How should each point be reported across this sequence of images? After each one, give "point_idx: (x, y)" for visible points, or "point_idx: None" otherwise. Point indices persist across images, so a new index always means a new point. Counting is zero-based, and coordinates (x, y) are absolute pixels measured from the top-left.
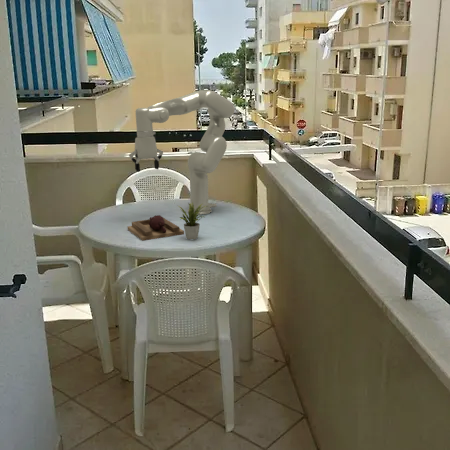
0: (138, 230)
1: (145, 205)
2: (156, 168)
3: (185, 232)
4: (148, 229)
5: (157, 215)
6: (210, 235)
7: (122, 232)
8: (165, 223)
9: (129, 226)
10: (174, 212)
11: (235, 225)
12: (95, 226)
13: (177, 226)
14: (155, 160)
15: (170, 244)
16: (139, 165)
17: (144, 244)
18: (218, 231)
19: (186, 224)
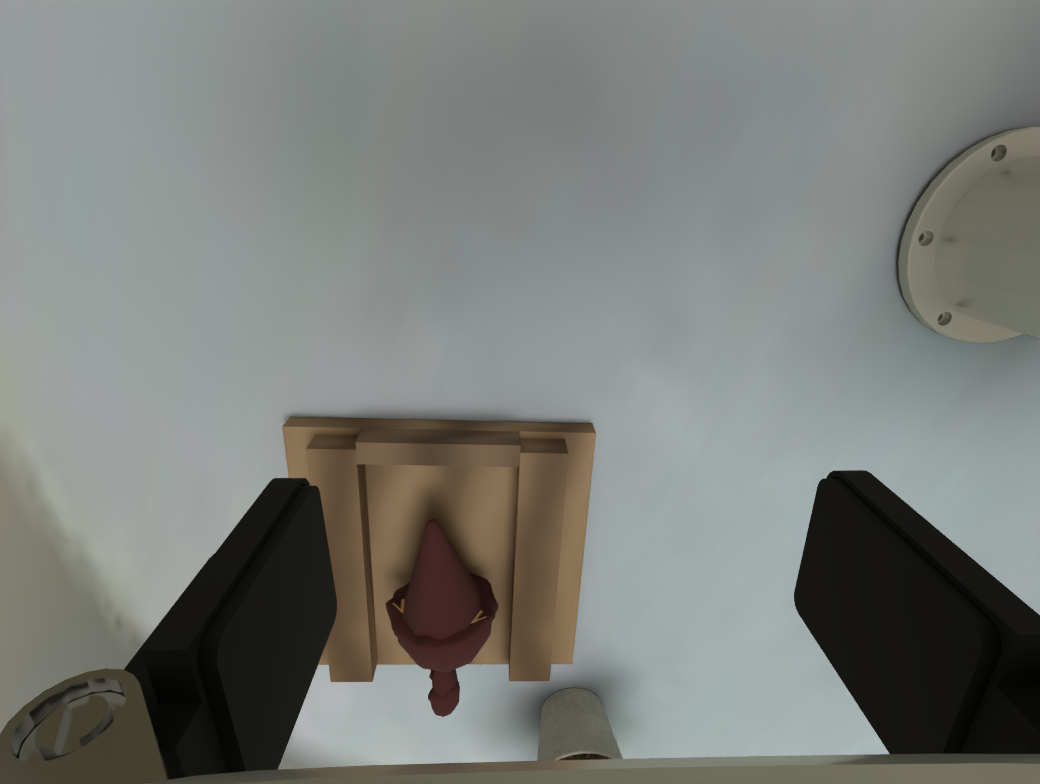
0: None
1: None
2: (805, 587)
3: (539, 741)
4: (362, 646)
5: (445, 649)
6: (673, 714)
7: (242, 460)
8: (514, 580)
9: (296, 434)
10: (834, 123)
11: None
12: (54, 203)
13: (546, 666)
14: (997, 736)
15: (430, 743)
16: (276, 758)
17: (311, 697)
18: (750, 681)
19: (567, 751)
